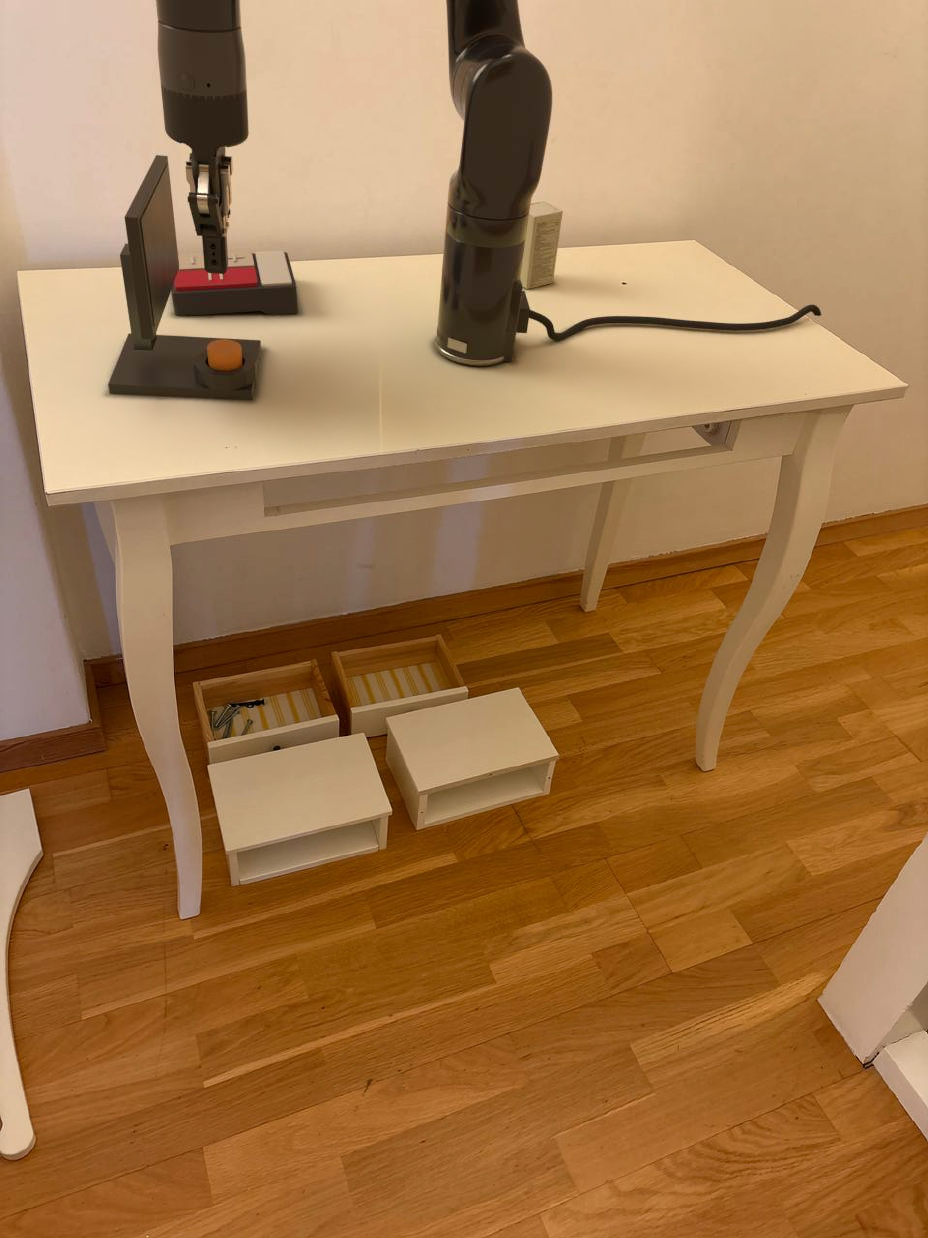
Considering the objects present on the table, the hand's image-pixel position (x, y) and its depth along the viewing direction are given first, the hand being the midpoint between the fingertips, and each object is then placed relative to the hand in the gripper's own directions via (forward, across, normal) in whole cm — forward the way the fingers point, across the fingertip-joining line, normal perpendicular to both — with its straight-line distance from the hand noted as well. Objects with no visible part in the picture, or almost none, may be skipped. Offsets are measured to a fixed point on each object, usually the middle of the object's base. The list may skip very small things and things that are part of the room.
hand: (216, 270), depth 97 cm
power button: (+10, 0, 0) cm, 10 cm away
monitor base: (+13, +3, +4) cm, 14 cm away
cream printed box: (+13, +34, -39) cm, 53 cm away
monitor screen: (+5, +3, +7) cm, 9 cm away
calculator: (+13, +23, +1) cm, 26 cm away
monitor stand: (+10, +3, +9) cm, 14 cm away
